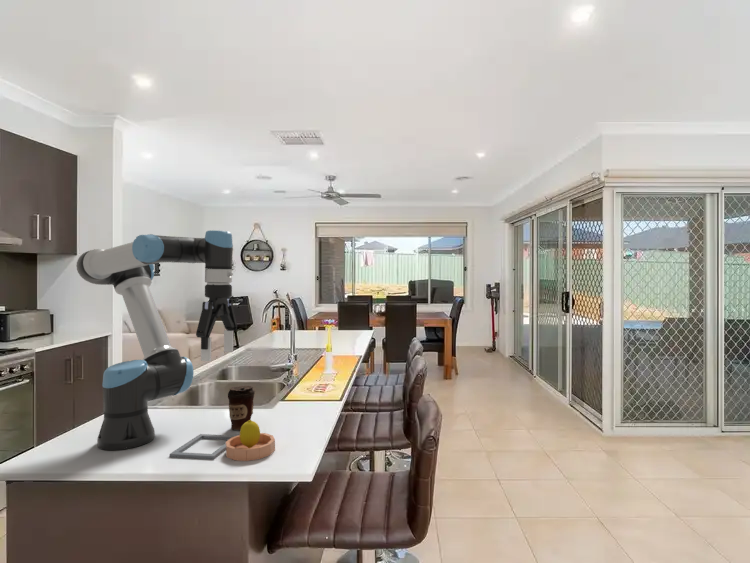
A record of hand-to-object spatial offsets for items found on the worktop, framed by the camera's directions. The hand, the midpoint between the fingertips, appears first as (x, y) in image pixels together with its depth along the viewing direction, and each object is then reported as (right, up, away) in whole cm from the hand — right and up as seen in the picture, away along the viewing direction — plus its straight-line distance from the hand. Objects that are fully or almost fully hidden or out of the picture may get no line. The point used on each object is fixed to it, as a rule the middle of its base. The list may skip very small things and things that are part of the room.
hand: (217, 356), depth 137 cm
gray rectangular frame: (-2, -26, -3) cm, 26 cm away
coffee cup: (+3, -26, +14) cm, 29 cm away
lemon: (+11, -25, -7) cm, 28 cm away
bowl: (+11, -26, -7) cm, 29 cm away
